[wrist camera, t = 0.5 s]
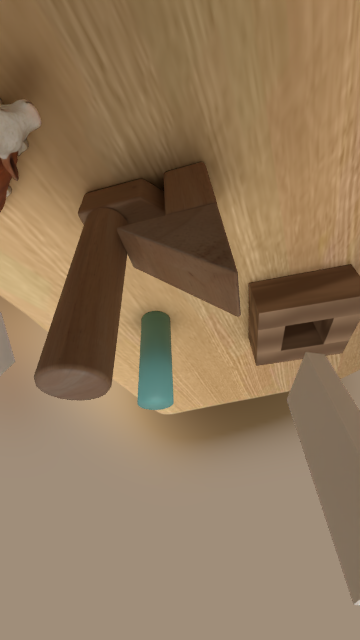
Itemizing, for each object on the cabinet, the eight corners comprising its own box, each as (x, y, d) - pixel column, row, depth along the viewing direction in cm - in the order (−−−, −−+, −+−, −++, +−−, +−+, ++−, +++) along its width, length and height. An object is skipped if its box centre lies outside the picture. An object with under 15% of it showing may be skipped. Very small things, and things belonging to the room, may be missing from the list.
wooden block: (210, 201, 24) (258, 377, 13) (102, 228, 26) (58, 408, 14) (204, 158, 22) (258, 334, 10) (83, 191, 23) (9, 377, 12)
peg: (137, 314, 36) (132, 398, 28) (166, 308, 35) (168, 393, 28) (146, 331, 39) (143, 411, 31) (172, 326, 38) (176, 407, 31)
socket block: (248, 283, 32) (258, 313, 29) (351, 264, 31) (373, 294, 28) (248, 338, 42) (256, 365, 38) (327, 325, 40) (342, 353, 37)
